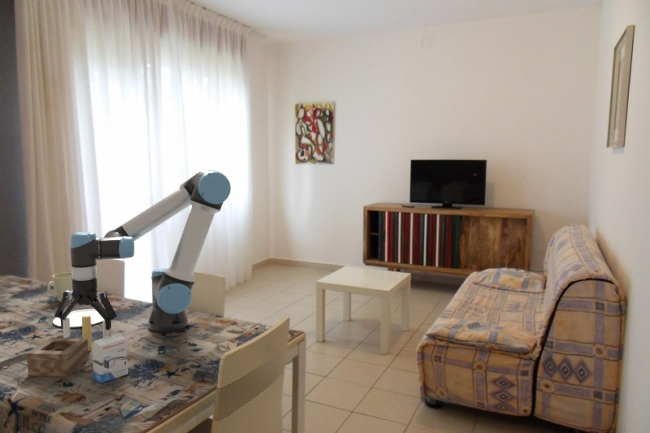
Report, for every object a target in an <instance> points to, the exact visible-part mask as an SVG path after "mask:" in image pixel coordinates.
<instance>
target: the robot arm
mask: <svg viewBox="0 0 650 433" xmlns="http://www.w3.org/2000/svg"><path fill="white" fill-rule="evenodd" d="M231 189H232V187H231V182H230V180H229V179H228V178H227V176H226V175H224V174H223V173H222V172H220V171H216V170H211V169H203V170H200V171H198V172H197V173H196V174H195V173H194V175H192V176H191V177H190V178H188V179H187V180H186V181H184V182H183V183H181V184H179V188H178V189H177V190H175V191H174V192H172V193H171V194H169V195H167V196H166V197H164V198H162V199H161V200H159V201H158V202H156V203H155V204H152V205H151V206H150V207H148V208H146V209H145V210H143V211H142V212H140V213H138V214H137V215H136V216H134V217H132V218H130V219H129V220H128V221H126V222H125V223H123V224H121V225H120V226H119V227H117V228H115V229H112V230H109V231H108V232H106V233H105V235H104V236H103V237H97V235H96V233H95V232H93V231H77V232H74V233H72V234H71V236H70V260H71V261H70V263H71V273H72V278H74V279H73V280H72V289H73V292H72V291H70V290H67V291H65V292H63V298H62V301H61V302H60V303H59V305H58V307H57V309H56V311H55V313H54V315H53V316H54V319H55V318H60V320H61V327H60V328H61V329H62V336H63V337H62V338H69V337H70V336H71V328H70V318H69V317H68V315H69V314H70V313H71V312H72V311H74V309H75V308H76V307H77V306H78V305H79V306H83V305H84V306H89V305H90V306H91V307H92V308H93V309H95V310H96V311H97V312H98V313H99V314H100V315H101V317H102V318H103V319H104V321H103V322H102V339H103V338H106V337H110V329H111V328H112V320H114V319H115V318H117V316H118V315H117V313H116V311H115V310H114V307H113V306H112V304H111V302H110V300H109V298H108V293H107V290H106V291H101V292H99V291H98V278H97V277H96V276H97V275H98V273H97V272H98V270H97V265H98V264H97V260H119V259H123V260H125V259H129V258H133V257H134V256H135V241H137V240H138V239H140V238H141V237H143V236H144V235H146V234H148V233H149V232H151V231H152V230H154V229H155V228H158V226H160V225H162V224H163V223H165V222H166V221H168V220H169V219H171V218H173V217H174V216H176V215H177V214H179V213H180V212H182V211H183V210H185V209H186V208H188V207H190V206H191V209H190V212H189V213H188V217H187V219H186V222H185V224H184V228H183V231H182V234H181V236H180V239H179V242H178V244H177V248H176V250H175V252H174V255H173V258H172V262H171V264H170V267H166V268H158V269H154V270H153V271H152V272H151V277H150V278H151V279H150V280H151V293H152V294H151V297H152V298H151V299H152V300H151V301H152V308H151V312H150V315H149V318H148V322H147V328H148V329H149V330H150V331H153V332H159V333H169V332H170V333H171V332H175V331H179V329H180V330H182V329H184V328H186V327H188V326H189V325H188V324H189V316H188V314H187V311H186V309H187V308H189V306H190V305H191V303H192V300H193V298H192V297H193V296H192V294H193V293H192V290H193V287H194V285H195V282H196V278H195V276H194V272H195V269H196V267H197V264H198V262H199V260H200V259H199V258H200V256H201V253H202V250H203V247H204V245H205V242H206V239H207V236H208V234H209V231H210V228H211V226H212V223H213V219H214V218H215V217H214V216H215V215H216V214H217V213H220V212H221V209H222V207H223V205H224V202H225V201H227V199H228V198H229V196H230V194H231ZM71 296H72V298H73V299H74V300H72V302H71V303H70V305H68V302H70V301H69V299H70V297H71ZM100 302H101V303H100ZM67 305H68V307H67V308H66V306H67ZM66 317H67V318H66Z"/></svg>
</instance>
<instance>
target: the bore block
mask: <svg viewBox="0 0 650 433" xmlns="http://www.w3.org/2000/svg"><path fill="white" fill-rule="evenodd" d="M26 360H27V361H26V362H27V375H28V376H37V377H38V376H43V377H44V376H45V377H69V376H70V375H71V374H72V373H73V372H75V371H76V370H77V369H78V368H79V367H81V366H82V365H83V364H84V363H86V362H87V361H88V360H89V351H88V339H83V338H72V337H71V338H69V337H67V338H63V337H51V338H49V339H47V340H46V341H44V342H42V343H41V344H40V345H38V346H36V347H34V348H33V349H32V350H30V351H28V352H27V353H26Z"/></svg>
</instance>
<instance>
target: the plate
mask: <svg viewBox="0 0 650 433" xmlns="http://www.w3.org/2000/svg"><path fill="white" fill-rule="evenodd" d="M85 315H90V316H91V326H96V325H98V324H101V323H103V321H104V319H103V318H102V317H101V315H100V314H99V313H98V312H97V311H96V310H95V309H94V308H89V309H85V308H84V309H77V310H72V311H71V313H70V314H69V315H68V317H69V318H70V329H71V328H73V329H74V328H82V316H85ZM66 318H67V317H66ZM52 324H53V325H54V326H56V327H58V328H61V320H60V318H55V317H54V319H53V320H52Z"/></svg>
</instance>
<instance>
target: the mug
mask: <svg viewBox="0 0 650 433" xmlns="http://www.w3.org/2000/svg"><path fill="white" fill-rule="evenodd" d="M73 279H74V278H72V272H61V273H55V274H53V275H52V281H49V282H47V286H46V288H47V291H48V293H49V294H51V295H52V296H54V297H56V298H57V299H58V300H57V301H58V302H60V303H61V301H62V298H63V292H65V291H67V290H70V291H72V292H73V289H72V280H73ZM52 284H53V290H54V292H55V293H54V292H52V291H51V285H52ZM72 298H73V297H72V296H71V297H70V299H69V301H68V302H70V301H71V300H72Z"/></svg>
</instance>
